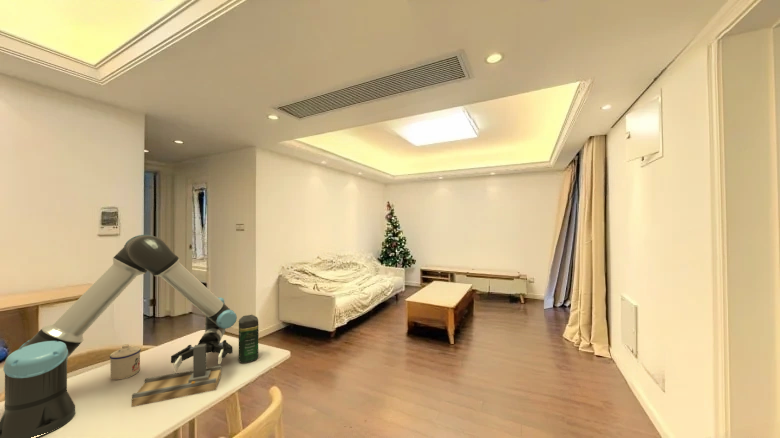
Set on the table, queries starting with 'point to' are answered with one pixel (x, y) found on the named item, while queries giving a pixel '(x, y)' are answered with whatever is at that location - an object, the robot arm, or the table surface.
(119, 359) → the teacup with lid
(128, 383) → the table surface
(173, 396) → the fader console
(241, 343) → the coffee jar
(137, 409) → the table surface
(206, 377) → the fader tab
